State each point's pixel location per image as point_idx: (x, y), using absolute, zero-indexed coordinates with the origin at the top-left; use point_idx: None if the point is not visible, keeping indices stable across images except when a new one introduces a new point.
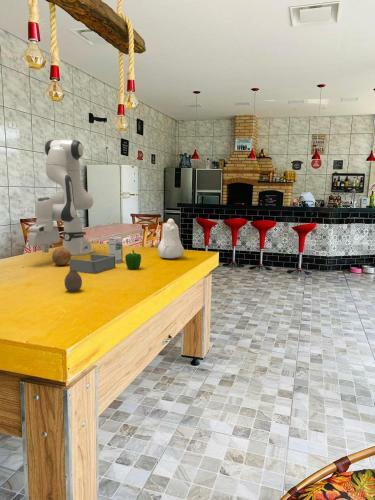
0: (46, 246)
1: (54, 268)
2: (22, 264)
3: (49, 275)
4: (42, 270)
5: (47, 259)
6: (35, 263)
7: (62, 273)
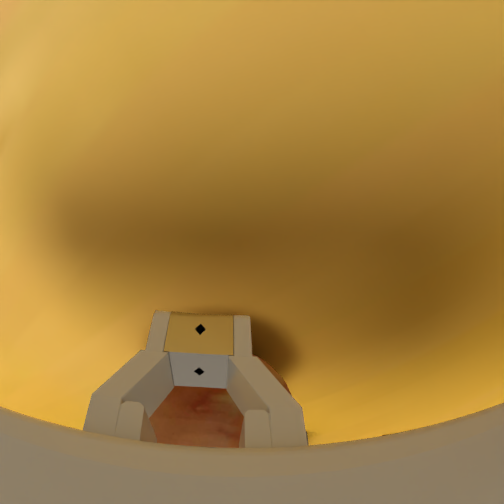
0: (258, 402)
1: (110, 367)
2: (48, 41)
3: (21, 391)
4: (32, 340)
5: (452, 92)
6: (162, 115)
7: (74, 414)
